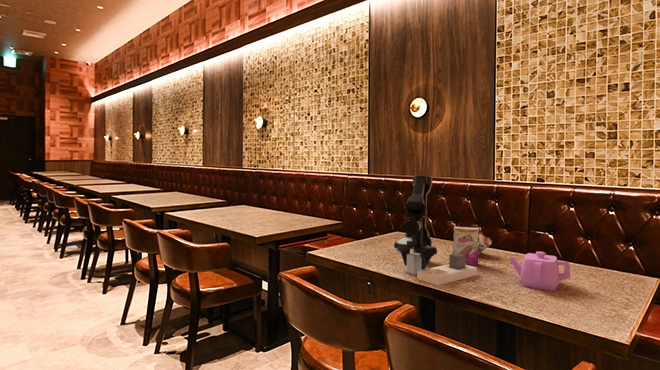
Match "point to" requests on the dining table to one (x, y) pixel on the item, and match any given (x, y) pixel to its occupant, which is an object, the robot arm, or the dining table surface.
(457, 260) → the twin plug
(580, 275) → the dining table surface
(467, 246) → the candy bar box
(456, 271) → the power strip
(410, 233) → the robot arm
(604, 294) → the dining table surface
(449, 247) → the dining table surface
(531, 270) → the teakettle
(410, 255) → the plug
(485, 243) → the lucky cat figurine
